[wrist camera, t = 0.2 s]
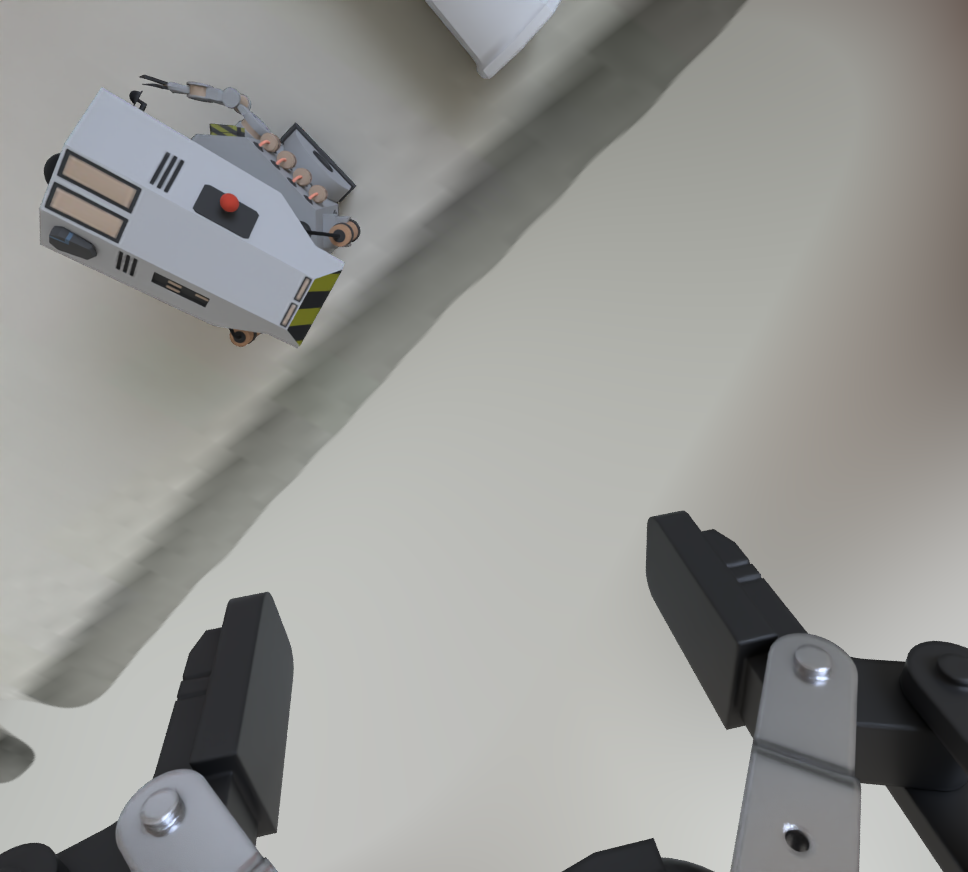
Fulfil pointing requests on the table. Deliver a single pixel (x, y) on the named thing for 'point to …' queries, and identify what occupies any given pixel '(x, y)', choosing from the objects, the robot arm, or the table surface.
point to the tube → (493, 27)
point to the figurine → (201, 213)
